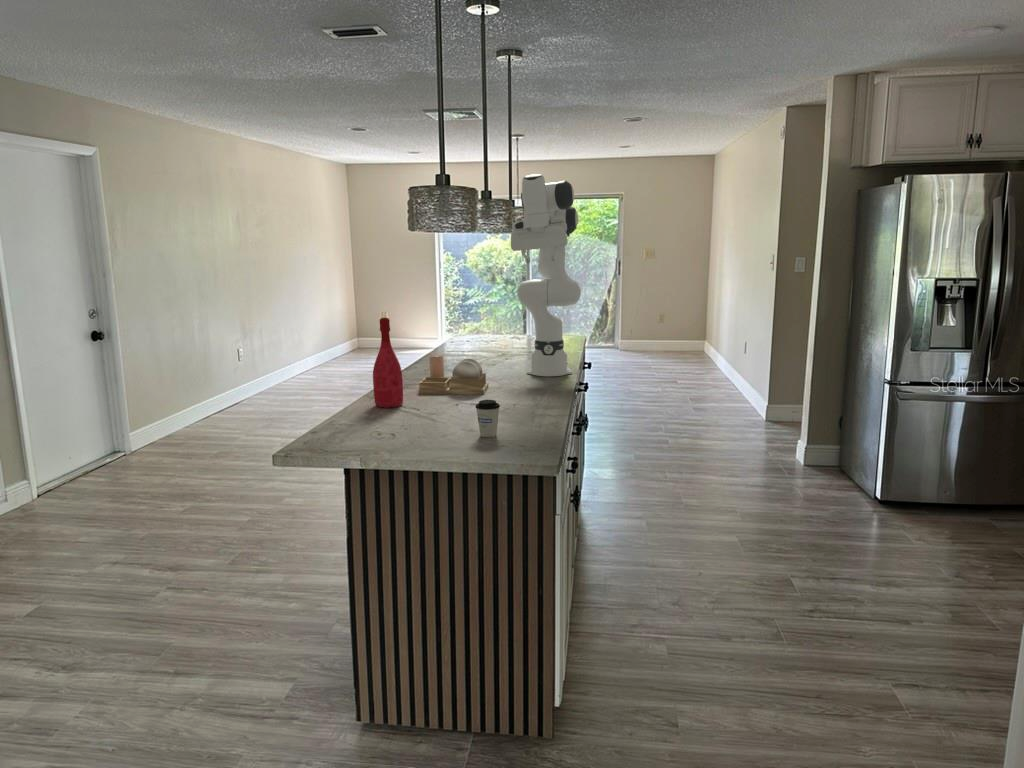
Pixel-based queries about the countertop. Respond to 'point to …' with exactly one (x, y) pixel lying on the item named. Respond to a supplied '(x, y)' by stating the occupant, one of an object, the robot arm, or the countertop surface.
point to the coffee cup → (488, 417)
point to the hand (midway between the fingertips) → (540, 261)
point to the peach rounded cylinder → (436, 365)
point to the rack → (457, 380)
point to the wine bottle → (387, 372)
